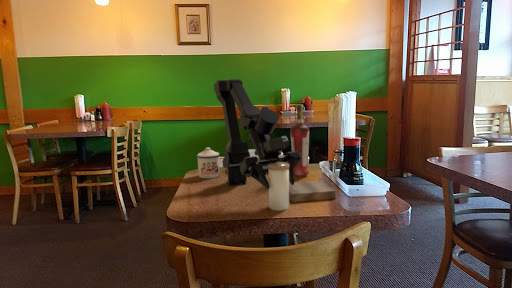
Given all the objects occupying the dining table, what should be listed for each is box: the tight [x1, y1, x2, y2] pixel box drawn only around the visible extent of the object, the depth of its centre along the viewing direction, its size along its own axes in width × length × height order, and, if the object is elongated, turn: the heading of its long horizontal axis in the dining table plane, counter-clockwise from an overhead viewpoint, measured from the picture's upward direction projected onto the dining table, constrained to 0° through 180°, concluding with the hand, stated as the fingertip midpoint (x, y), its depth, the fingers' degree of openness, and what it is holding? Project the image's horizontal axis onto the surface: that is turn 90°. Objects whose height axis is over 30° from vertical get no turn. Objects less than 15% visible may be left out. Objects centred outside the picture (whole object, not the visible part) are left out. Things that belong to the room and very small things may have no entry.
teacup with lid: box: [196, 147, 226, 179], centre depth 150 cm, size 12×9×12 cm
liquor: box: [290, 104, 310, 178], centre depth 144 cm, size 7×7×28 cm
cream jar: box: [267, 162, 290, 212], centre depth 109 cm, size 6×6×13 cm
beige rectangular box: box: [289, 180, 336, 203], centre depth 121 cm, size 14×13×2 cm
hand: (281, 186), depth 107 cm, fingers open, 8 cm apart
